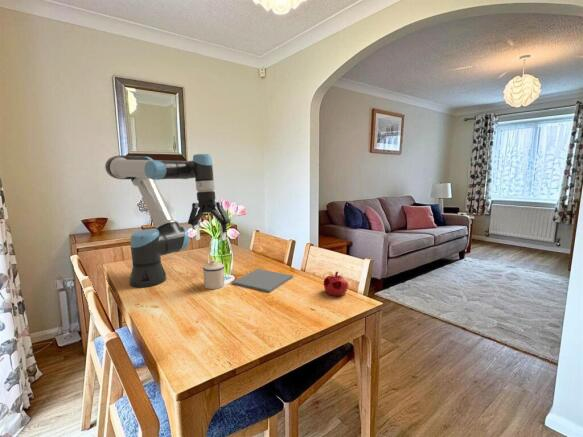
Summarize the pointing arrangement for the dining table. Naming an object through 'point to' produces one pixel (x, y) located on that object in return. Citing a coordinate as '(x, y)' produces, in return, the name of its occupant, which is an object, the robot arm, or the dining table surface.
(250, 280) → the slate tile
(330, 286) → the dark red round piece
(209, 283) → the teacup with lid
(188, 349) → the dining table surface
